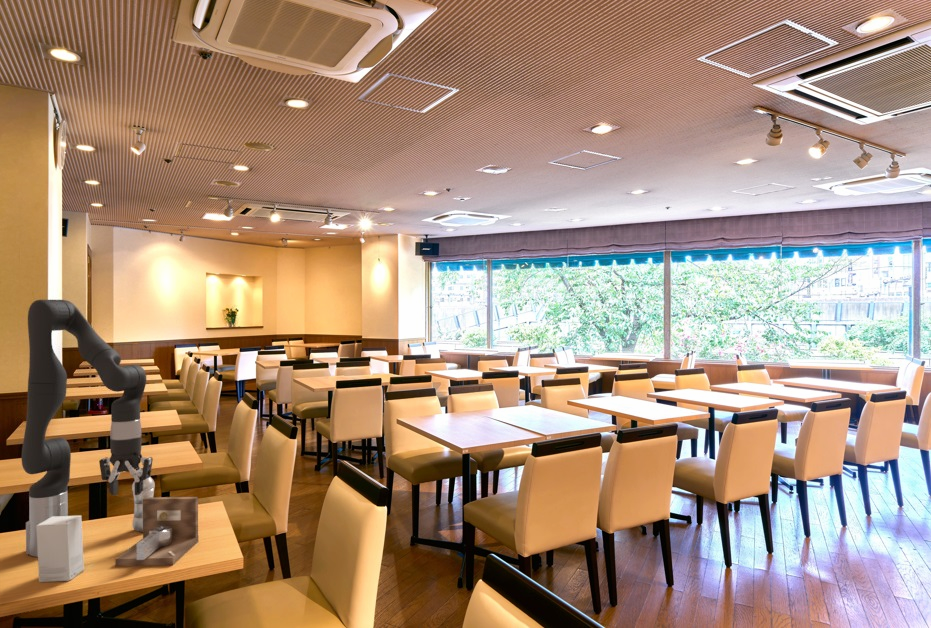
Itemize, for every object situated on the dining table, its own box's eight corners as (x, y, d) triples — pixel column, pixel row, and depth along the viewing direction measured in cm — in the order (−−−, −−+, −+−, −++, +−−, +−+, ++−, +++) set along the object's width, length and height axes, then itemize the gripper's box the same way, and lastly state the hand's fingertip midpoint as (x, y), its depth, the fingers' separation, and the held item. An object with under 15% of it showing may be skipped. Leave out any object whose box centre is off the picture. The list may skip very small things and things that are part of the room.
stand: (115, 565, 158) (115, 516, 157) (146, 542, 174) (145, 497, 173) (173, 565, 158) (172, 515, 158) (198, 541, 174) (198, 496, 174)
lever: (155, 539, 170) (155, 522, 170) (175, 539, 170) (175, 522, 170) (129, 560, 156) (129, 542, 156) (151, 559, 156) (151, 541, 156)
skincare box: (84, 570, 155) (84, 514, 155) (68, 582, 148) (67, 523, 148) (53, 571, 154) (53, 515, 154) (35, 583, 148) (35, 524, 148)
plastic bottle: (145, 534, 180) (145, 472, 179) (127, 532, 181) (127, 471, 181) (160, 526, 186) (159, 466, 186) (142, 525, 187) (142, 465, 187)
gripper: (91, 438, 155) (92, 499, 156) (144, 438, 156) (144, 498, 156) (108, 432, 163) (108, 490, 163) (158, 432, 163) (158, 489, 164)
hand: (126, 494), depth 160 cm, fingers open, 6 cm apart
